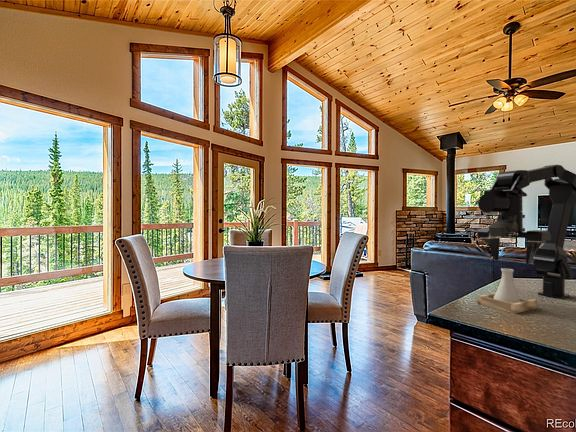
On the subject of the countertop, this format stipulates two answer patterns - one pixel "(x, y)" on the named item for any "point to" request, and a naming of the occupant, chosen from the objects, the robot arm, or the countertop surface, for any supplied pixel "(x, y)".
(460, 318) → the countertop surface
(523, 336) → the countertop surface
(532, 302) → the tray
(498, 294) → the flask
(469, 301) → the countertop surface
